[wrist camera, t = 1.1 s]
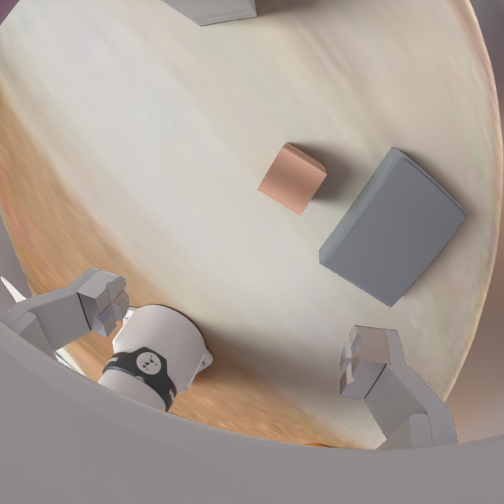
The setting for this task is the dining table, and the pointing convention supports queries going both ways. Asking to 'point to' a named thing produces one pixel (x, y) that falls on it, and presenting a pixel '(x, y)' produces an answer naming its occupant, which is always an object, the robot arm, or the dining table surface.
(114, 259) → the dining table surface
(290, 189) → the terracotta block
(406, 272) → the plinth
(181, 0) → the supplement box
